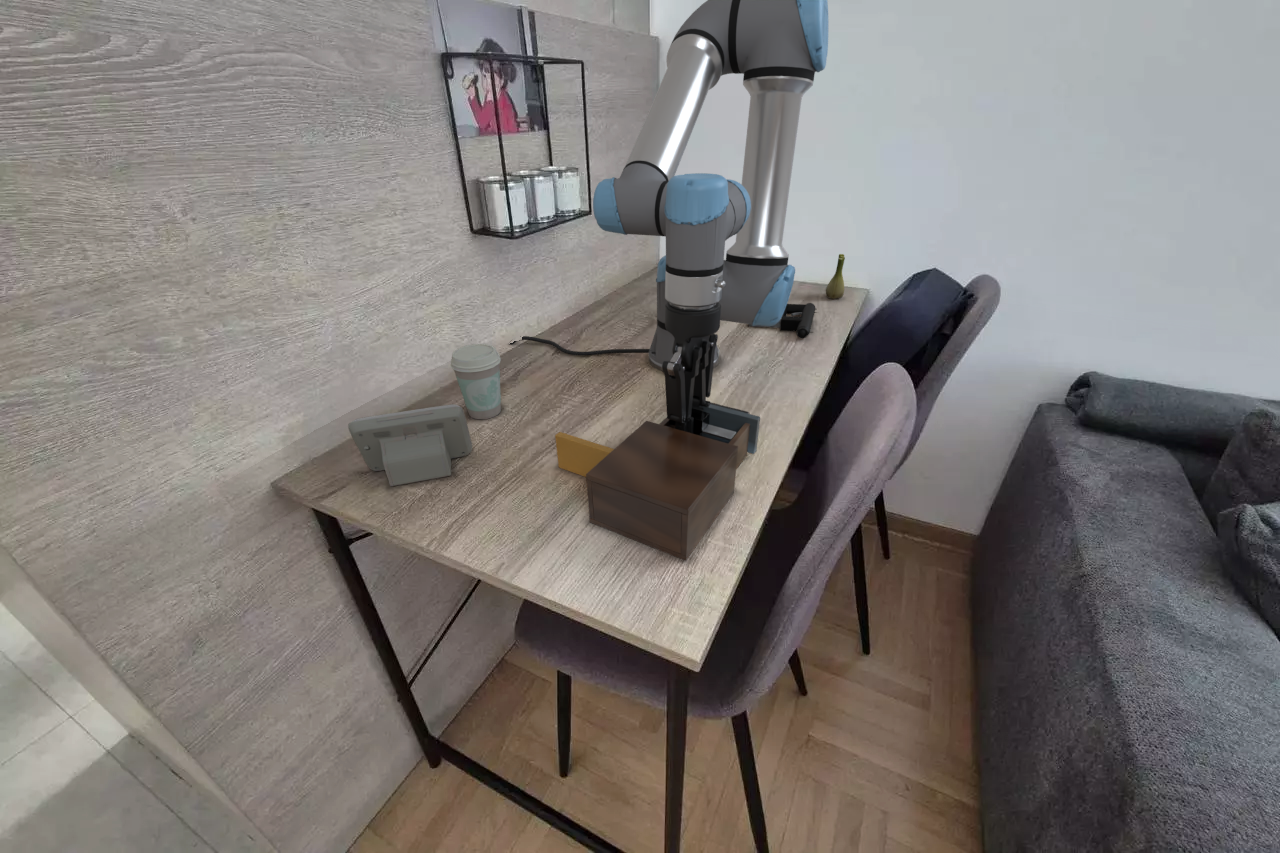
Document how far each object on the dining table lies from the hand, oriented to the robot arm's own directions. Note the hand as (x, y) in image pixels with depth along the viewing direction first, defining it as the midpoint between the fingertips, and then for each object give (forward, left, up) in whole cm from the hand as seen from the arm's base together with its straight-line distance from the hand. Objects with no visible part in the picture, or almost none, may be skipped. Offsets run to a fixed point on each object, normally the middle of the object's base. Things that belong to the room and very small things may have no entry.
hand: (688, 447), depth 85 cm
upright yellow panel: (-12, -11, -2) cm, 16 cm away
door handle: (-6, +66, -3) cm, 66 cm away
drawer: (+2, +1, -2) cm, 3 cm away
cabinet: (+2, -12, -2) cm, 13 cm away
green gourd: (0, +93, -3) cm, 93 cm away
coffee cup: (-40, -4, -3) cm, 40 cm away
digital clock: (-36, -22, -3) cm, 42 cm away
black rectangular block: (+2, 0, +4) cm, 5 cm away
